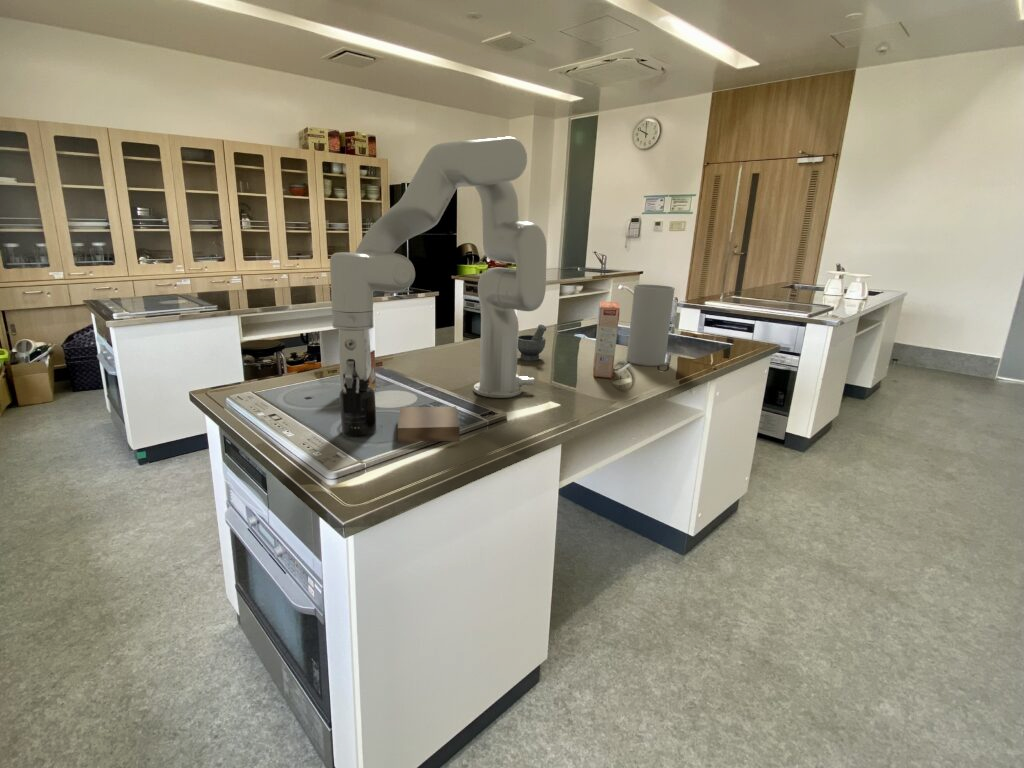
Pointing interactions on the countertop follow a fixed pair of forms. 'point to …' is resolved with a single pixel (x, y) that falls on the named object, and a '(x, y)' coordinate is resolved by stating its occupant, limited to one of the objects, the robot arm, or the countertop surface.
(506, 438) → the countertop surface
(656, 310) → the cylinder vase
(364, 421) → the supplement bottle
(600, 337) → the cracker box
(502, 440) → the countertop surface
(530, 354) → the mortar and pestle
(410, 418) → the walnut base
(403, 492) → the countertop surface
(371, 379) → the small box
